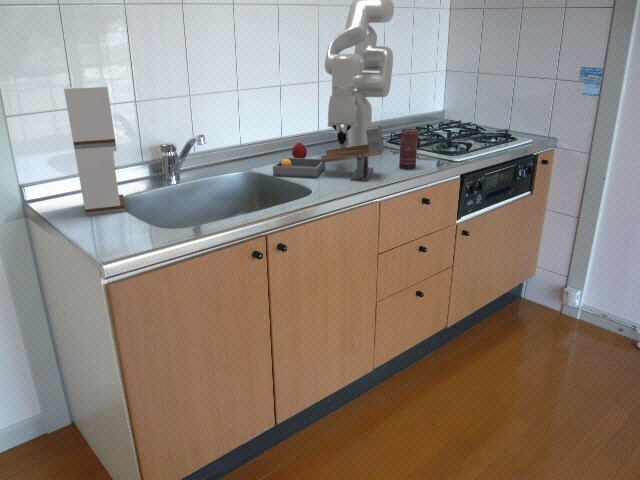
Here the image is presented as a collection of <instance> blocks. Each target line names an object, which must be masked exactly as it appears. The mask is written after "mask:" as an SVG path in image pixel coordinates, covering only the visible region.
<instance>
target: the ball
mask: <svg viewBox="0 0 640 480" xmlns="http://www.w3.org/2000/svg"><path fill="white" fill-rule="evenodd" d="M282 159H283V158H282ZM291 165H292V163H291V161H290V160H289V159H283V160H282V161H281V166H285V167H291Z"/></svg>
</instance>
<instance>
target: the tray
mask: <svg viewBox="0 0 640 480" xmlns="http://www.w3.org/2000/svg"><path fill="white" fill-rule="evenodd" d="M283 159H289V160H290V161H291V163H292V165H291V167H285V166H281V161H282V160H283ZM326 164H327V162H325V163H322V160H321V158H307V157H305V158H294V157H283V158H281V159H280V160H279V161H278V162H276V163H275V164H274V165H273V166H272V175H273V176H272V177H280V178H281V177H282V178H283V177H284V178H301V179H302V178H304V179H318V178H320V176H321V175H322V174H323V172H324V171H326V166H327V165H326Z"/></svg>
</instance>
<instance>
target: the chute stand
mask: <svg viewBox="0 0 640 480" xmlns="http://www.w3.org/2000/svg"><path fill="white" fill-rule="evenodd" d="M374 169H375V168H374V167H369V156H368V157H363V155H362V154H360V155H359V156H358V157H357V158H356V169H355V170H354V172H353V174H352V175H351V177H350V181H353V182H354V181H355V182H369V181H370V179H371V177H372V174H373V173H374Z"/></svg>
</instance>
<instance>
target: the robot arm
mask: <svg viewBox="0 0 640 480" xmlns="http://www.w3.org/2000/svg"><path fill="white" fill-rule="evenodd" d="M394 13H395V7H394V3H393V0H354V1H353V2H351V4H350V6H349V11H348V14H347V19H346V22H345V27H344V30H343V31H341V32H340V33H338V35H336V36H335V37H334V38H333V39H332V40H331V42H330V44H329V45H328V46H327V47H328V48H327V51H326V55H325V59H324V70H325V72H326V73H327V74H328V75H330V76H331V95H330V96H329V101H328V111H327V127H329V128H333V129H334V130H335V131H336V133H337V142H338V144H341V143H342V144H344V143H346V142H347V135H348V144H347V145H346V147H352V146H359V145H366V144H368V140H367V134H366V129H367V128H368V126H369V125H372V122H373V121H372V116H373V113H372V112H373V108H372V107H373V106H372V104H371V103H370V101H369V100H368V98H385V97H387V96H388V95H389V93H390V91H391V83H392V76H393V75H392V73H393V65H394V52H393V50H392V49H391V48H390V46H389V47H388V46H378V45H377V42H378V35H377V33H376V31H375V29H374V28H373V27H372V25H370V24H374V23H375V24H377V23H378V24H379V23H380V24H381V23H383V24H384V23H385V24H386V23H388V22H390V21H391V20H392V19H393V17H394ZM353 47H354V53H341V52H343V51H345V50H347V49H349V48H353ZM342 125H343V129H342ZM347 132H348V134H347Z"/></svg>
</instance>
